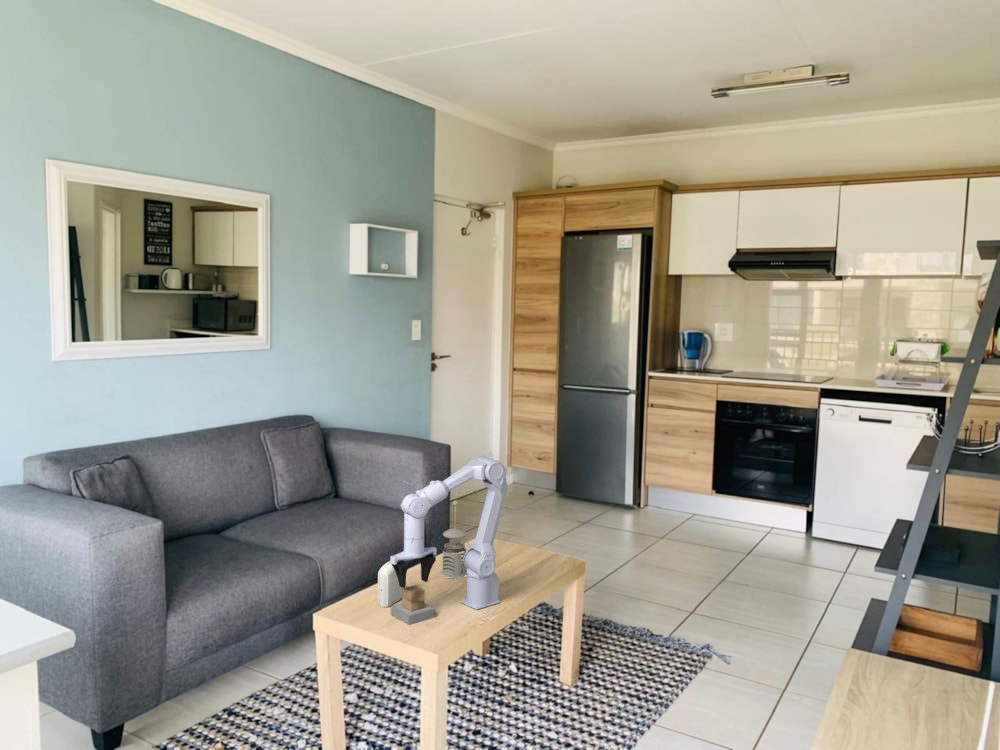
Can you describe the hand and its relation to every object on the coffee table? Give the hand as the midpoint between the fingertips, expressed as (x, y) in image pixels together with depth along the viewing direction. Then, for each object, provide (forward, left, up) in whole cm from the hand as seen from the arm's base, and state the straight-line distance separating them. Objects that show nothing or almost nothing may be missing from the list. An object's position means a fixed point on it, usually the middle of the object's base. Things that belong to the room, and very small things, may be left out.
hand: (413, 583), depth 212 cm
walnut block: (0, 0, -7) cm, 7 cm away
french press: (-31, -20, -10) cm, 38 cm away
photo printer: (-1, -13, -10) cm, 16 cm away
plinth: (0, 0, -9) cm, 9 cm away
